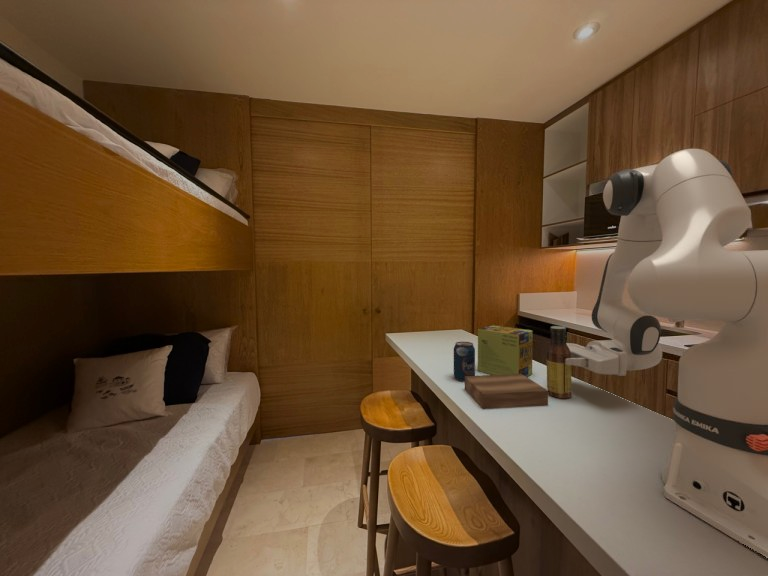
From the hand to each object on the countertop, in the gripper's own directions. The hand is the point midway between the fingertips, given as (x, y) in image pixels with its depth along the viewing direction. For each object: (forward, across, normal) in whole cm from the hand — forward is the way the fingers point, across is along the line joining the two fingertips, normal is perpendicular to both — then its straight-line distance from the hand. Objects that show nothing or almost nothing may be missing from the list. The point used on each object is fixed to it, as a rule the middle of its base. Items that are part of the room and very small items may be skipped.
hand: (556, 357), depth 91 cm
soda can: (+21, -17, +11) cm, 29 cm away
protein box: (+5, -21, +11) cm, 24 cm away
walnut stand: (+15, -1, +11) cm, 19 cm away
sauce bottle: (-1, 0, +11) cm, 11 cm away
